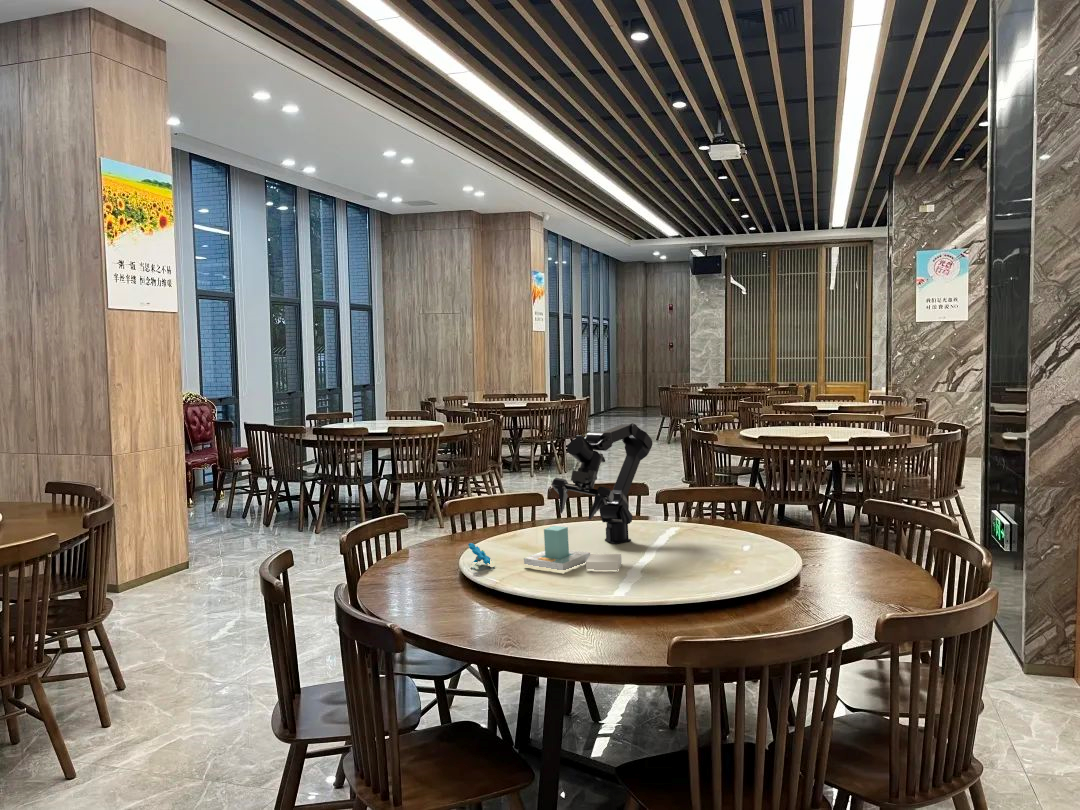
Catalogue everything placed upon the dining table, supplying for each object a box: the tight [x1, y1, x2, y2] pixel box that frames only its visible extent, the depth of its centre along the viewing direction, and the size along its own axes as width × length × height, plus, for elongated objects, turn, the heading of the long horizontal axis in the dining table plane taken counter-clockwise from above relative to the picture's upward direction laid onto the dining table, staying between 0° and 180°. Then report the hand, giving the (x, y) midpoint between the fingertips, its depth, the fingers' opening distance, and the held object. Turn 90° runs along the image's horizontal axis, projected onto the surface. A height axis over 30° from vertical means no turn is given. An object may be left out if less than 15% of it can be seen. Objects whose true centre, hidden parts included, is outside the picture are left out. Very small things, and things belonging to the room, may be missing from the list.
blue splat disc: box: [468, 542, 491, 565], centre depth 262 cm, size 11×6×10 cm
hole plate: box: [523, 549, 591, 570], centre depth 260 cm, size 14×14×3 cm
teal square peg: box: [543, 525, 570, 559], centre depth 260 cm, size 5×5×11 cm
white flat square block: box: [585, 553, 623, 572], centre depth 254 cm, size 9×9×3 cm
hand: (574, 516), depth 267 cm, fingers open, 9 cm apart
